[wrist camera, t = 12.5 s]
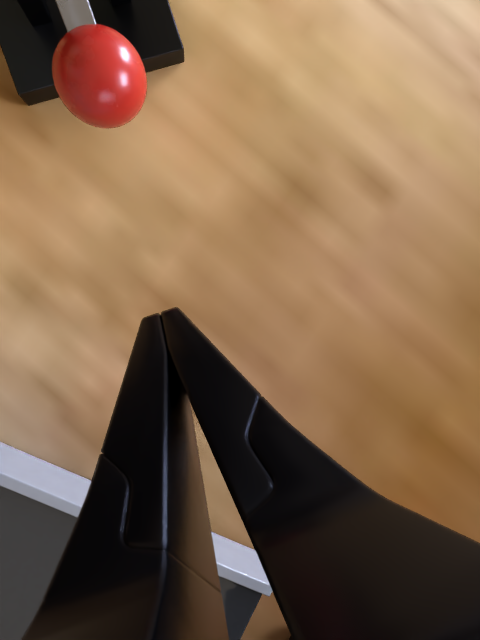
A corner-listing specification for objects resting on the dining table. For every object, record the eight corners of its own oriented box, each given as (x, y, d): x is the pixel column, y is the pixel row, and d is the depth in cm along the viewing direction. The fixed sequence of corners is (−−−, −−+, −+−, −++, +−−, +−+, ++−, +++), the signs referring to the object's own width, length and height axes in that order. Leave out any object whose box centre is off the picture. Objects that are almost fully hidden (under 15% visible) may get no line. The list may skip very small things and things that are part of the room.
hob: (265, 554, 23) (274, 587, 21) (139, 810, 23) (132, 877, 21) (-84, 405, 21) (-125, 420, 18) (-225, 689, 21) (-288, 747, 18)
